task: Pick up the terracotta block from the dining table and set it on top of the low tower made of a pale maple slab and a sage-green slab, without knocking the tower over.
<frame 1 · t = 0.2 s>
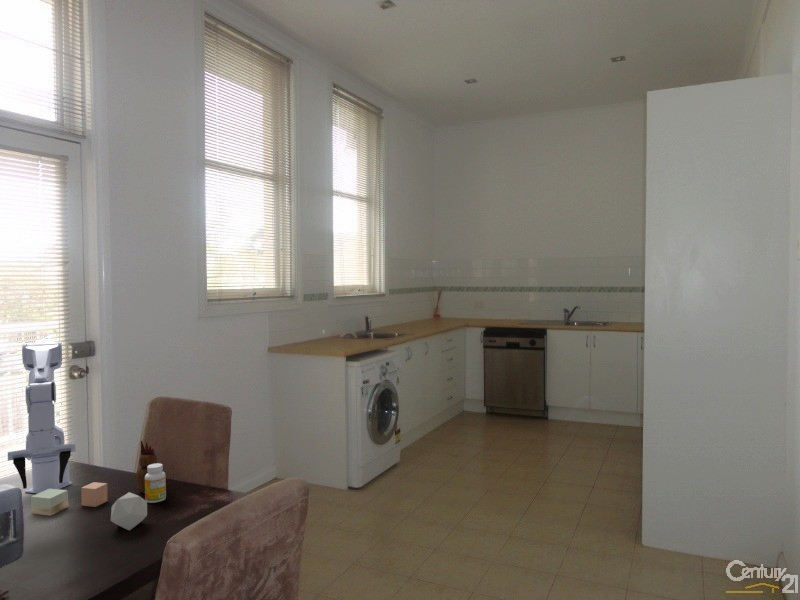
hand: (43, 485, 148), 10 cm above the table, tool pointing down, fingers open, 7 cm apart
supplement bottle: (155, 500, 166), on the table
die: (129, 526, 149), on the table
terracotta block: (94, 503, 164), on the table
tower top block: (49, 502, 159), point 2 cm above the table, touching tower base block
wooden figurine: (148, 492, 173), on the table
tower base block: (50, 511, 159), on the table, touching tower top block
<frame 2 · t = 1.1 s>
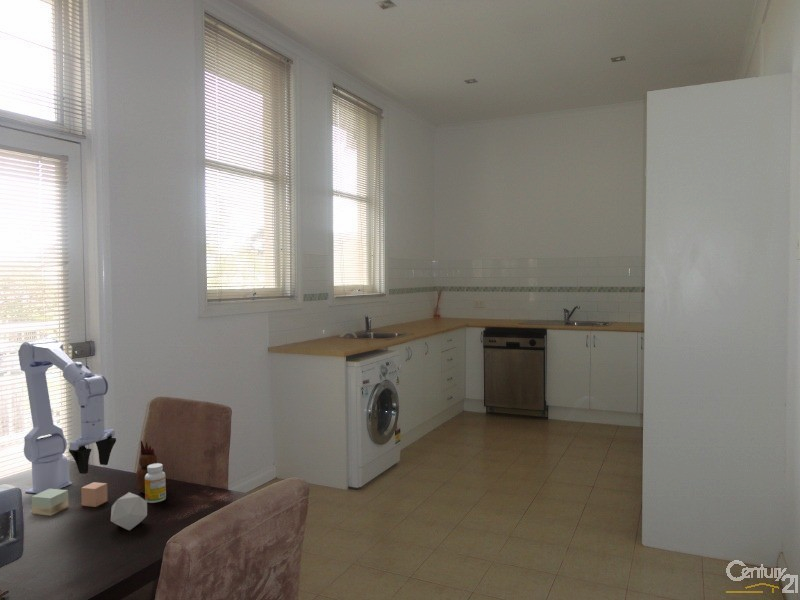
hand: (93, 468, 164), 10 cm above the table, tool pointing down, fingers open, 7 cm apart
nothing on the table moved.
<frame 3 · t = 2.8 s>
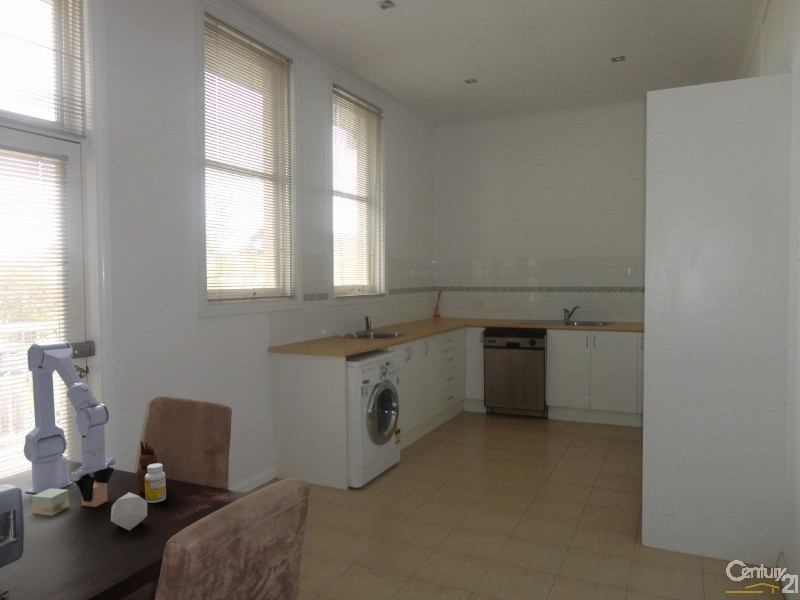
hand: (94, 497, 164), 1 cm above the table, tool pointing down, fingers closed on terracotta block, 4 cm apart
terracotta block: (94, 503, 164), on the table, touching gripper
everything else where it was.
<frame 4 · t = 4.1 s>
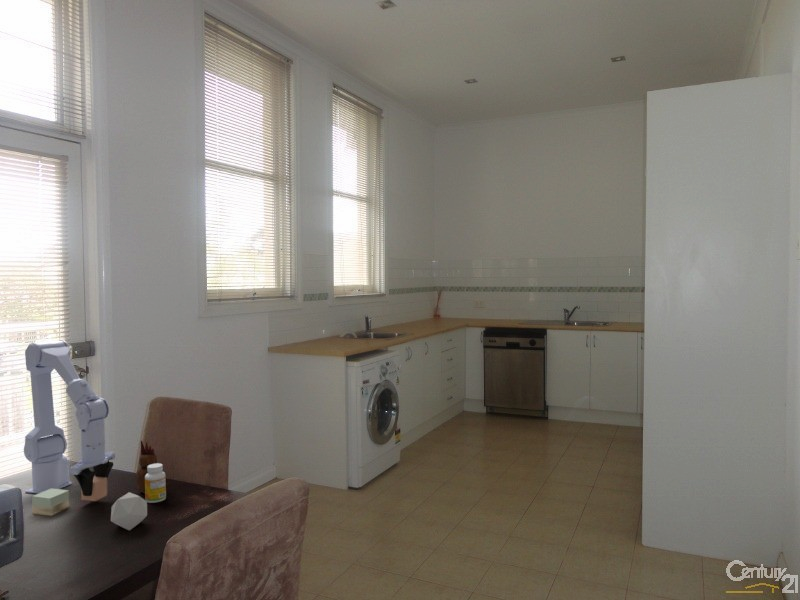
hand: (94, 492, 164), 3 cm above the table, tool pointing down, fingers closed on terracotta block, 4 cm apart
terracotta block: (94, 497, 164), point 2 cm above the table, touching gripper
tower top block: (51, 502, 159), point 2 cm above the table
tower base block: (51, 511, 159), on the table
everything else where it was.
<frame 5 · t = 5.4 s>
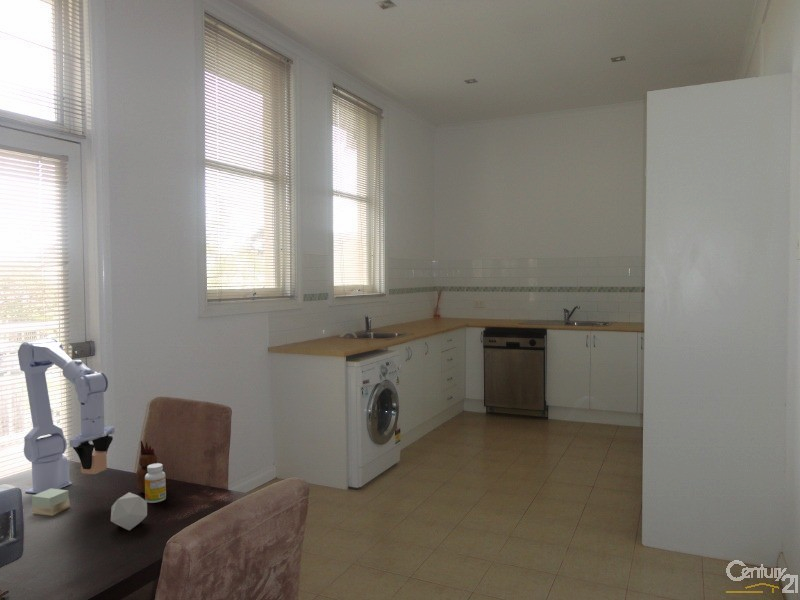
hand: (93, 465, 164), 10 cm above the table, tool pointing down, fingers closed on terracotta block, 4 cm apart
terracotta block: (93, 471, 164), point 9 cm above the table, touching gripper
tower top block: (50, 502, 159), point 2 cm above the table, touching tower base block
tower base block: (51, 511, 159), on the table, touching tower top block
everything else where it was.
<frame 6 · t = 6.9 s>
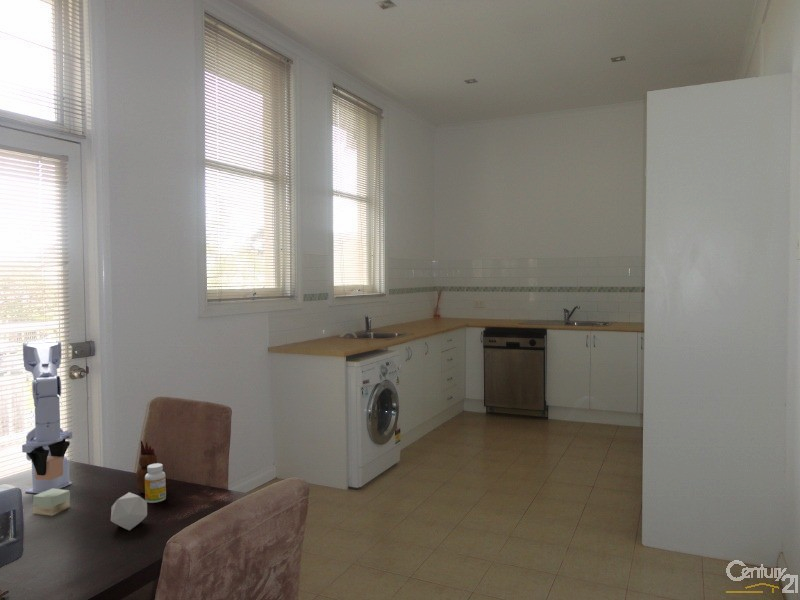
hand: (49, 471, 159), 10 cm above the table, tool pointing down, fingers closed on terracotta block, 4 cm apart
terracotta block: (49, 477, 159), point 9 cm above the table, touching gripper
tower top block: (51, 502, 159), point 2 cm above the table
tower base block: (51, 511, 159), on the table
everything else where it was.
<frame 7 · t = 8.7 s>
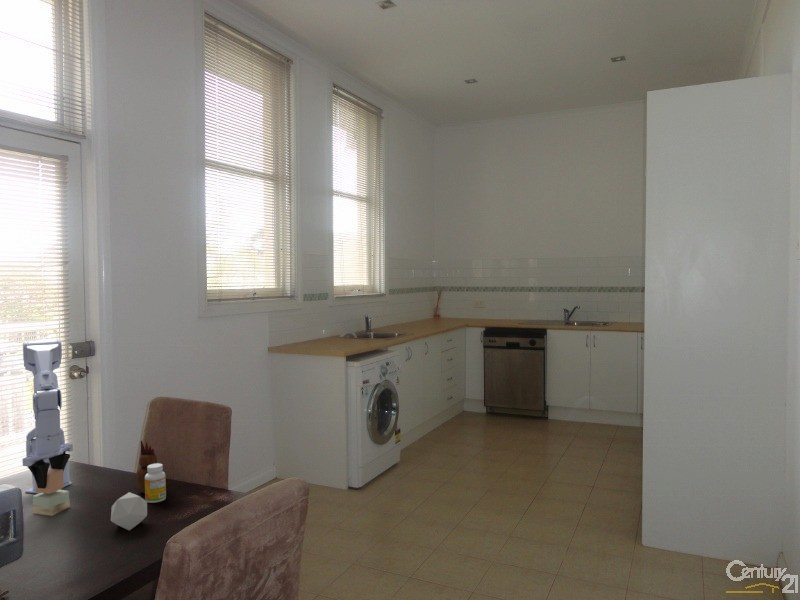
hand: (49, 484, 159), 7 cm above the table, tool pointing down, fingers closed on terracotta block, 4 cm apart
terracotta block: (49, 490, 159), point 5 cm above the table, touching gripper
tower top block: (51, 502, 159), point 2 cm above the table, touching tower base block
tower base block: (51, 511, 159), on the table, touching tower top block
everything else where it was.
when the fingers open (7 cm above the table, at t = 8.8 s): terracotta block moves 1 cm, resting on tower top block.
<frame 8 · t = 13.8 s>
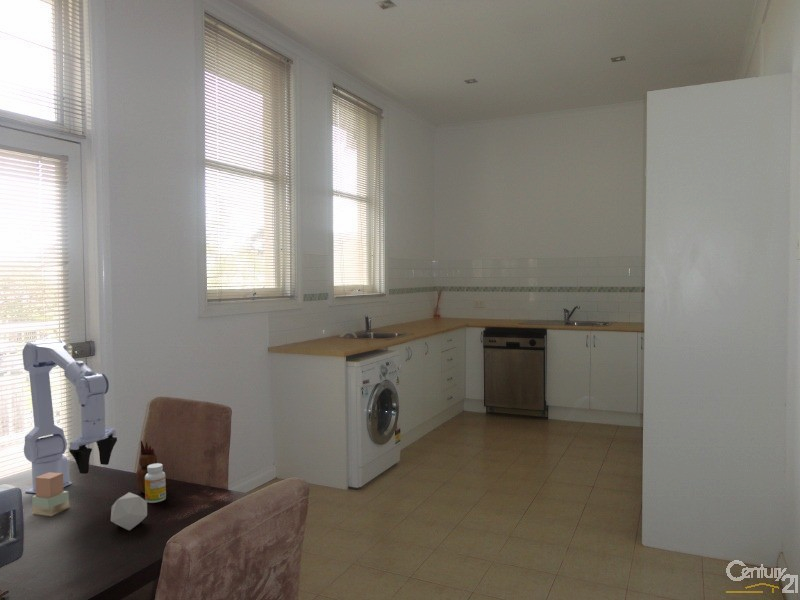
hand: (94, 468, 161), 10 cm above the table, tool pointing down, fingers open, 7 cm apart
terracotta block: (49, 493, 159), point 5 cm above the table, touching tower top block
tower top block: (50, 503, 159), point 2 cm above the table, touching terracotta block, tower base block
everything else where it was.
at the end: terracotta block 0.3 cm off-centre on the tower base block, point 5.0 cm above the tower base block's base; tower top block 0.1 cm off-centre on the tower base block, point 2.5 cm above the tower base block's base; terracotta block tilted 1° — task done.
